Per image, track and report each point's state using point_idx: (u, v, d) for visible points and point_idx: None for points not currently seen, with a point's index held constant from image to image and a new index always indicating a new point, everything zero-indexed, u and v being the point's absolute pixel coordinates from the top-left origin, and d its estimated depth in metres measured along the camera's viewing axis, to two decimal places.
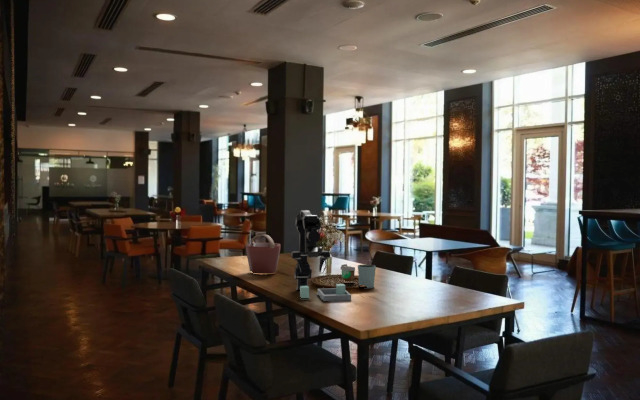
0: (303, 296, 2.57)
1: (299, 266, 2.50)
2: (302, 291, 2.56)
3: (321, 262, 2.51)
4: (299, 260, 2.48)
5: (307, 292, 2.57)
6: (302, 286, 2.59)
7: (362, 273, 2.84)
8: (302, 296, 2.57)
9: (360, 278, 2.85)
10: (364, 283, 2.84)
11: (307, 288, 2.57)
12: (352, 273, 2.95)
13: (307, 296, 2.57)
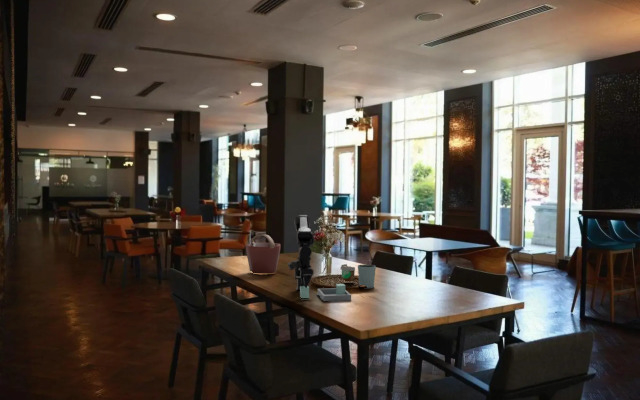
0: (303, 296, 2.57)
1: (302, 278, 2.64)
2: (302, 291, 2.56)
3: (303, 278, 2.53)
4: (298, 271, 2.64)
5: (307, 292, 2.57)
6: (302, 286, 2.59)
7: (362, 273, 2.84)
8: (302, 296, 2.57)
9: (360, 278, 2.85)
10: (364, 283, 2.84)
11: (307, 288, 2.57)
12: (352, 273, 2.95)
13: (307, 296, 2.57)
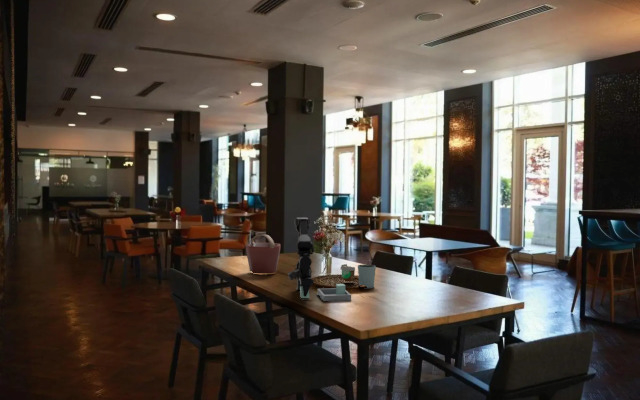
0: (303, 296, 2.57)
1: None
2: (302, 291, 2.57)
3: None
4: (299, 282, 2.62)
5: None
6: None
7: (362, 273, 2.84)
8: (302, 296, 2.57)
9: (360, 278, 2.85)
10: (364, 283, 2.84)
11: None
12: (352, 273, 2.95)
13: (307, 296, 2.57)
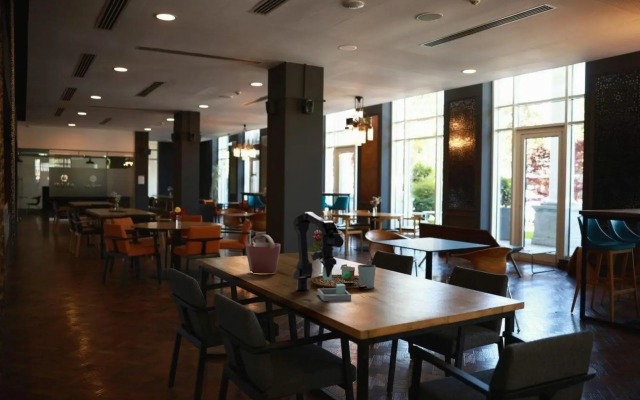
0: (326, 277, 2.57)
1: None
2: (325, 272, 2.57)
3: (325, 267, 2.56)
4: None
5: None
6: None
7: (362, 273, 2.84)
8: (325, 277, 2.57)
9: (360, 278, 2.85)
10: (364, 283, 2.84)
11: None
12: (352, 273, 2.95)
13: (330, 277, 2.58)
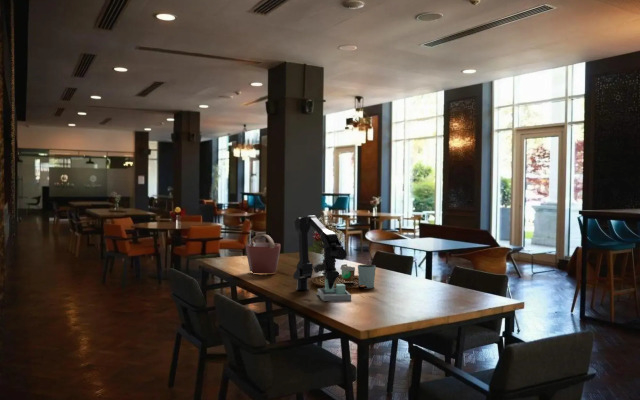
0: (328, 289, 2.58)
1: None
2: (327, 284, 2.58)
3: None
4: (323, 274, 2.63)
5: None
6: (327, 279, 2.60)
7: (362, 273, 2.84)
8: (327, 289, 2.58)
9: (360, 278, 2.85)
10: (364, 283, 2.84)
11: None
12: (352, 273, 2.95)
13: (332, 289, 2.58)
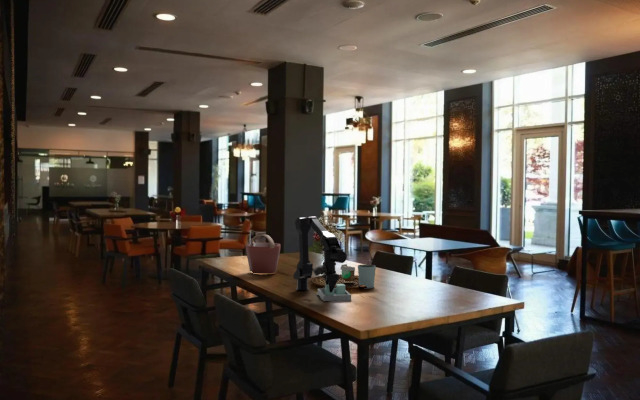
0: (328, 294, 2.58)
1: (327, 283, 2.64)
2: (327, 289, 2.58)
3: (328, 283, 2.56)
4: (323, 277, 2.64)
5: None
6: (327, 284, 2.60)
7: (362, 273, 2.84)
8: (327, 294, 2.58)
9: (360, 278, 2.85)
10: (364, 283, 2.84)
11: None
12: (352, 273, 2.95)
13: (332, 294, 2.58)
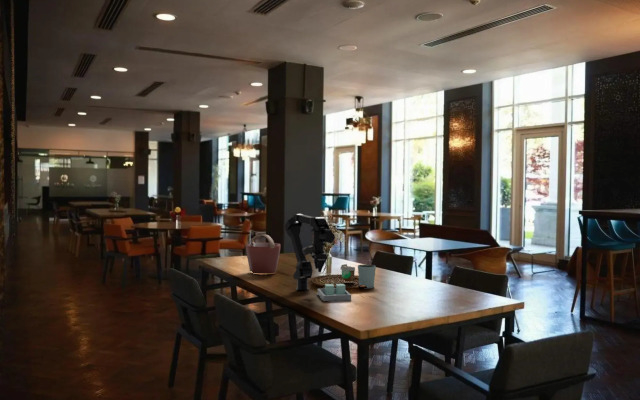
0: (328, 294, 2.58)
1: None
2: (327, 289, 2.58)
3: (317, 263, 2.62)
4: (311, 256, 2.73)
5: (332, 290, 2.58)
6: (327, 284, 2.60)
7: (362, 273, 2.84)
8: (327, 294, 2.58)
9: (360, 278, 2.85)
10: (364, 283, 2.84)
11: (332, 286, 2.58)
12: (352, 273, 2.95)
13: (332, 294, 2.58)
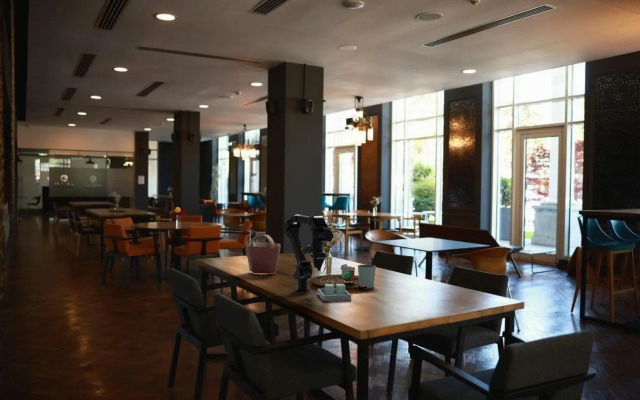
0: (328, 294, 2.58)
1: None
2: (327, 289, 2.58)
3: (316, 261, 2.63)
4: None
5: (332, 290, 2.58)
6: (327, 284, 2.60)
7: (362, 273, 2.84)
8: (327, 294, 2.58)
9: (360, 278, 2.85)
10: (364, 283, 2.84)
11: (332, 286, 2.58)
12: (352, 273, 2.95)
13: (332, 294, 2.58)
